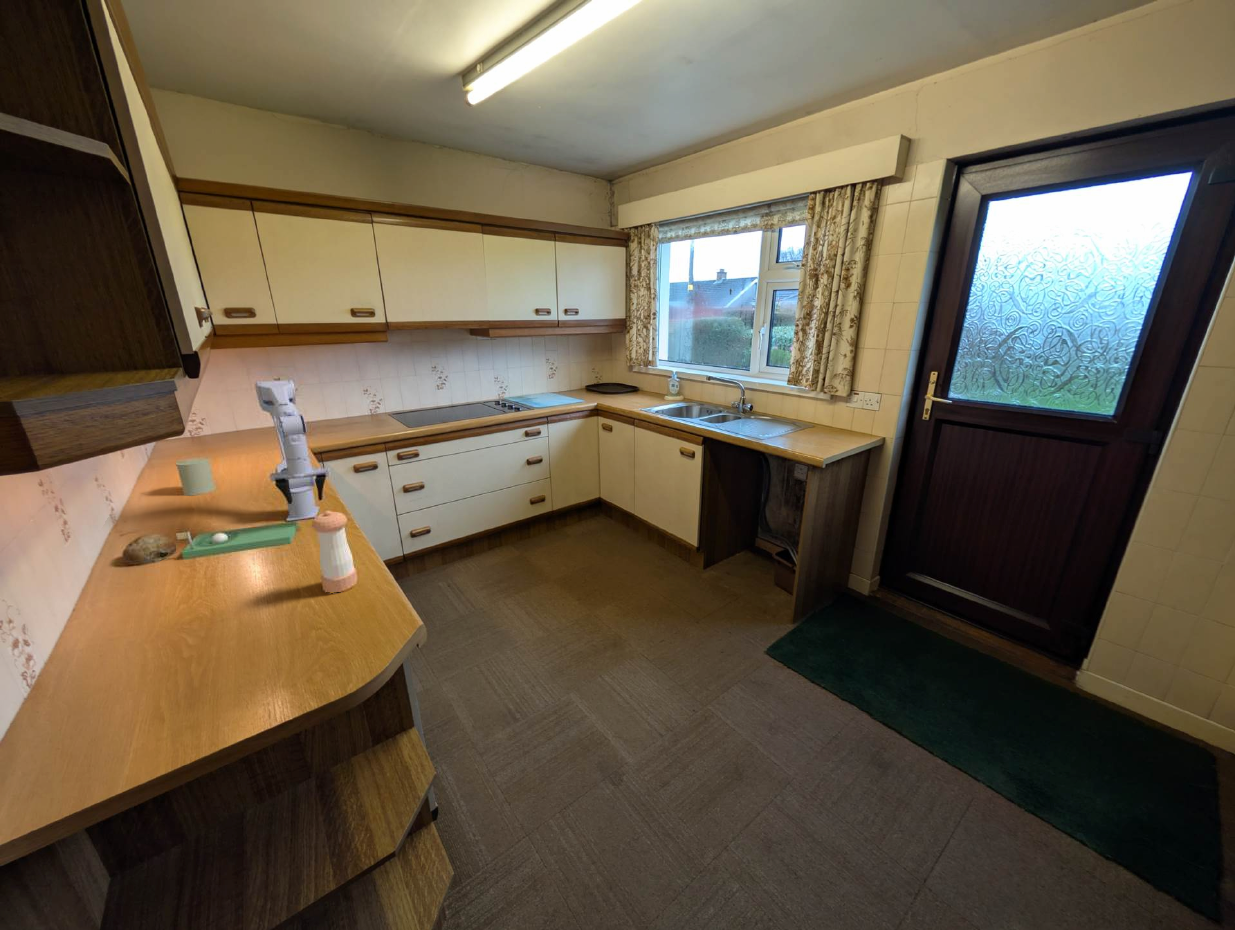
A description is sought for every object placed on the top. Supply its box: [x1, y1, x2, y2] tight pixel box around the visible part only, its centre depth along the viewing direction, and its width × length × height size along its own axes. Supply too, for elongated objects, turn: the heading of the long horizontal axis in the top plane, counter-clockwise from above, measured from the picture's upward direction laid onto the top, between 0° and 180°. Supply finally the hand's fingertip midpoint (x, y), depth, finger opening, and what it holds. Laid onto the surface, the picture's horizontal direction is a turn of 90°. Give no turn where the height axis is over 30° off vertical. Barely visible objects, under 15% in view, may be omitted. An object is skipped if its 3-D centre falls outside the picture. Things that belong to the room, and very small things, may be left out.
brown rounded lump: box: [121, 533, 177, 566], centre depth 126 cm, size 10×10×8 cm
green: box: [175, 520, 299, 560], centre depth 135 cm, size 12×24×7 cm, turn 114°
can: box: [175, 457, 217, 496], centre depth 173 cm, size 9×9×12 cm
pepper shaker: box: [311, 510, 358, 593], centre depth 112 cm, size 7×7×19 cm
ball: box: [212, 533, 228, 543], centre depth 133 cm, size 4×4×4 cm
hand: (305, 501), depth 141 cm, fingers open, 7 cm apart
